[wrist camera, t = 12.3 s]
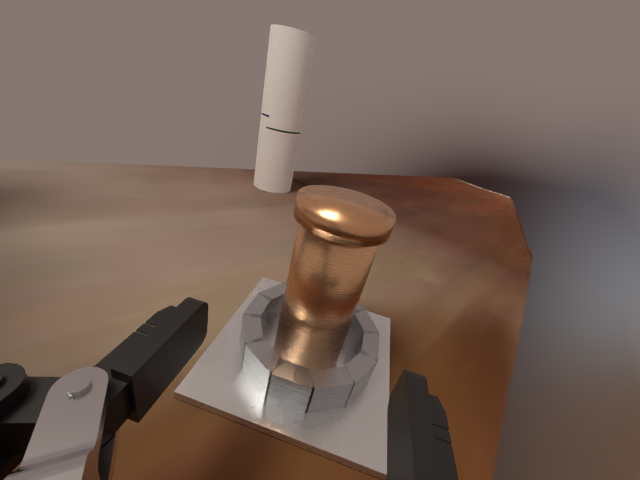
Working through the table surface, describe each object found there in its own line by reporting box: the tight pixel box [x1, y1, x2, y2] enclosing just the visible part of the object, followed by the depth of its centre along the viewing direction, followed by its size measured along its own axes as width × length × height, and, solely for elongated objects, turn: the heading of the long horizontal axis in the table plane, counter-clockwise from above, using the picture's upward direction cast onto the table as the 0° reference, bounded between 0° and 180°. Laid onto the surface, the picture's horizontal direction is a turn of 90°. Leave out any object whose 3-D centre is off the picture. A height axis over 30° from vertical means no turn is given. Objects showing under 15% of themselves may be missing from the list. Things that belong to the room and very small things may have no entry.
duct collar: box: [174, 277, 390, 480], centre depth 21 cm, size 13×13×3 cm
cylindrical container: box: [254, 24, 316, 193], centre depth 49 cm, size 7×7×25 cm
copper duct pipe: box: [274, 185, 396, 370], centre depth 19 cm, size 6×6×12 cm
